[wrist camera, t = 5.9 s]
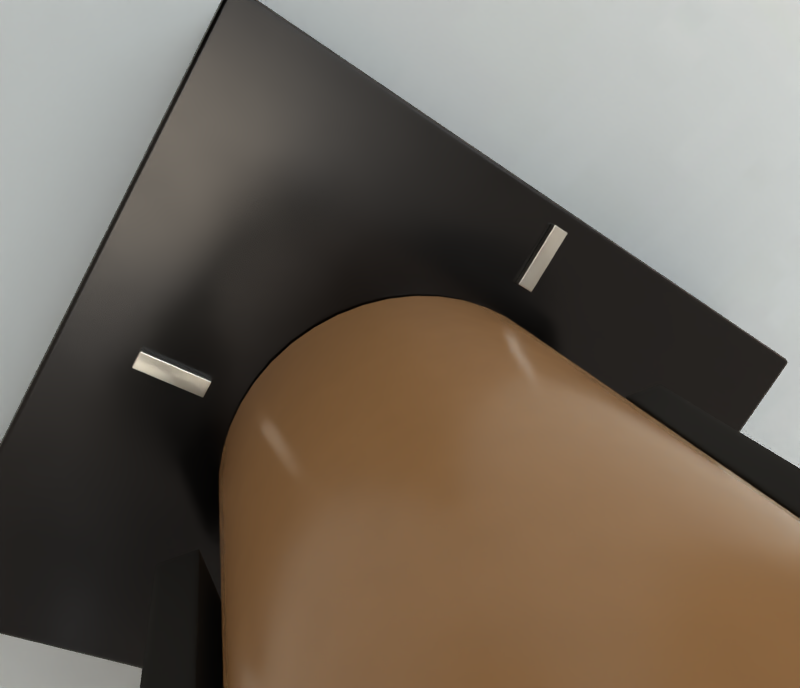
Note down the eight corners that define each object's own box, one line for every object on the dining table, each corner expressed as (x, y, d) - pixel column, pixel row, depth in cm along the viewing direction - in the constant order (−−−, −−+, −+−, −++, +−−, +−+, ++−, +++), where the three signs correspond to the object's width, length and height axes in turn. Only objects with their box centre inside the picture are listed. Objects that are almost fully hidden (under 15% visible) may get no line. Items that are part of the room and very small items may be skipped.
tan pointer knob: (339, 222, 13) (944, 735, 2) (636, 390, 16) (1482, 940, 5) (150, 566, 14) (-38, 1942, 3) (459, 660, 17) (860, 1541, 6)
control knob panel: (720, 331, 19) (795, 363, 16) (479, 689, 21) (514, 766, 18) (227, 4, 13) (231, -21, 11) (-41, 538, 15) (-90, 620, 13)
